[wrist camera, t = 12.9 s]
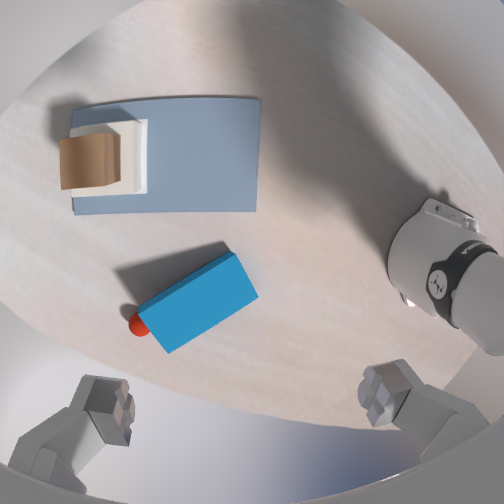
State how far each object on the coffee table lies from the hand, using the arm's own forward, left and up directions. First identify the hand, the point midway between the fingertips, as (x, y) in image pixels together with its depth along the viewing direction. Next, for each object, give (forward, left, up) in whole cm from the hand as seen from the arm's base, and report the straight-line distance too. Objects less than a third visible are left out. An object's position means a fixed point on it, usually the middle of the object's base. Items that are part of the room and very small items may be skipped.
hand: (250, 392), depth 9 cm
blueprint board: (+8, -7, -29) cm, 31 cm away
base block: (+14, -7, -28) cm, 32 cm away
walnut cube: (+14, -7, -24) cm, 29 cm away
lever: (+5, +13, -30) cm, 33 cm away
